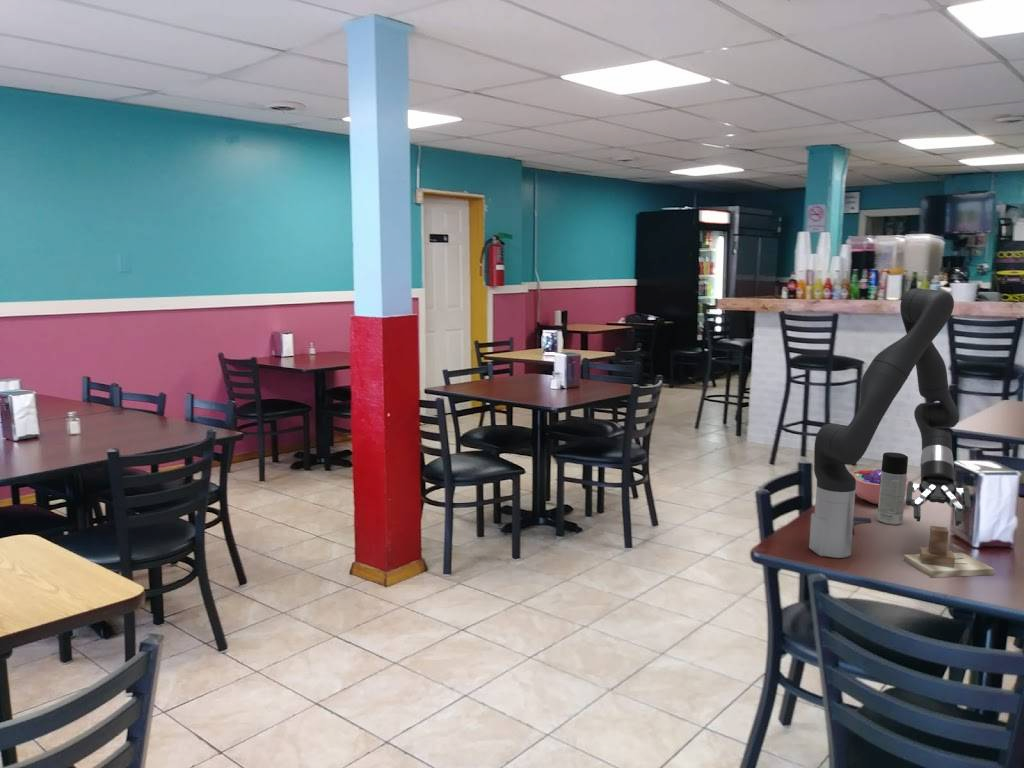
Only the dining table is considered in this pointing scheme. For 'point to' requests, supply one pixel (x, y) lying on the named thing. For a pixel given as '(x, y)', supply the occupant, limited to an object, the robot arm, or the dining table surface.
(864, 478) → the cell model
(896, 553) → the dining table surface
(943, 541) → the brown wooden stepped block
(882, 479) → the spray can
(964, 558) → the board
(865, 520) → the bracket
